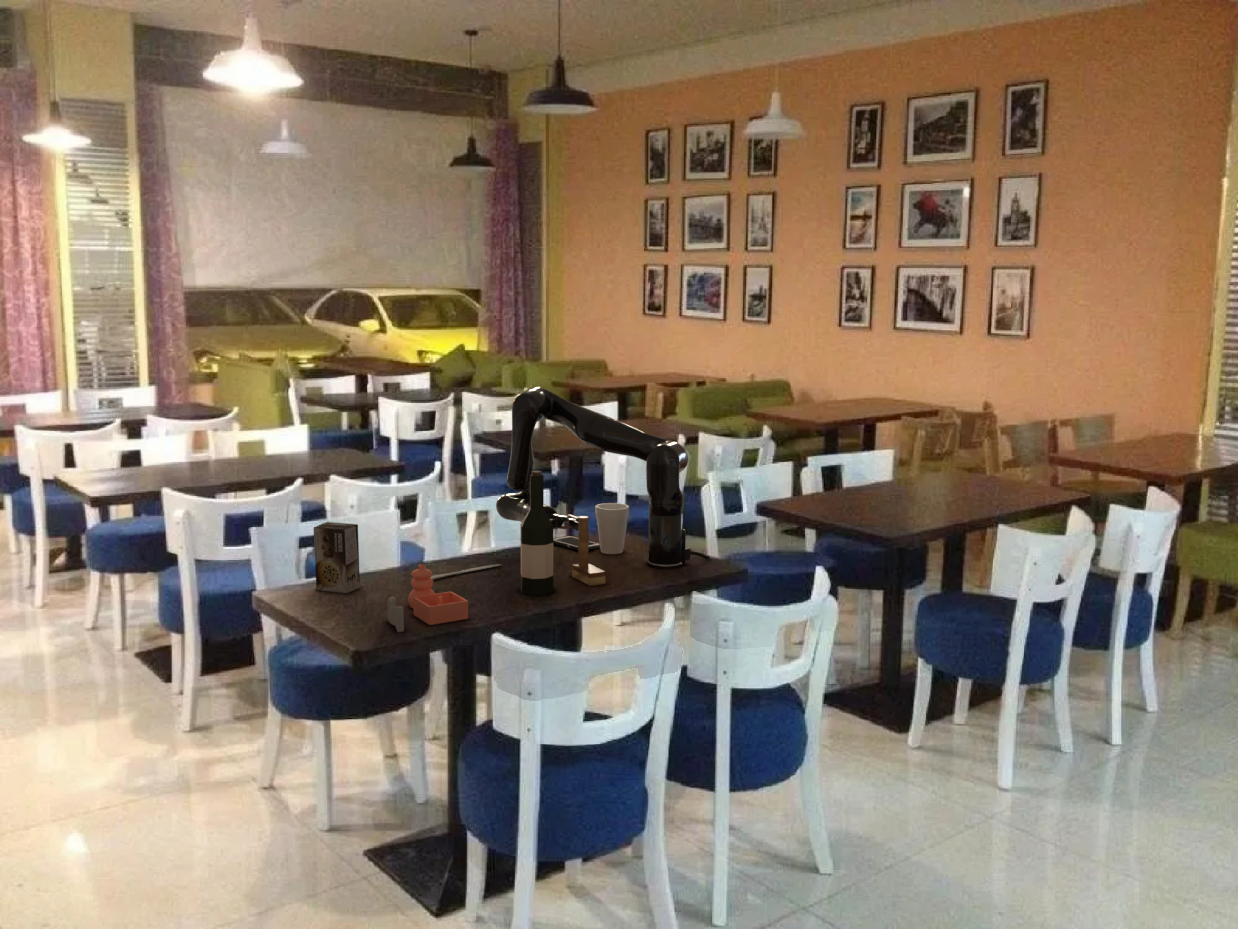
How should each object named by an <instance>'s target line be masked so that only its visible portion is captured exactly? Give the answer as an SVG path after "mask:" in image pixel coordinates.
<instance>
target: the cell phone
mask: <svg viewBox="0 0 1238 929" xmlns="http://www.w3.org/2000/svg"><path fill="white" fill-rule="evenodd" d="M553 544H554V545H559V546H561V547H566V548H569V549H573V550H576V551H578V537H577V536H573V535H563V536H558V537H553ZM594 549H600V542H595V541H591V540H588V551H590V550H594Z"/></svg>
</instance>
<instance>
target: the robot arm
mask: <svg viewBox="0 0 1238 929" xmlns="http://www.w3.org/2000/svg"><path fill="white" fill-rule="evenodd" d="M541 420H547V421H551V422H553V423H556V424H559V425H561V426H563V427H565V428H567V430H568V431H570V433H571V434H573V435H574V436H575V438H577V440H579V441H580V442H582V443H583V444H586V445H588V446H590V447H593V448H595V449H596V450H600V451H602V452H607V453H611V454H616V455H621V456H627V457H633V458H636V459H639V460H642V461H644V462H646V463H645V464H646V465H645V476H646V478H645V479H646V491H647V494H648V540H647V541H648V542H647V544H648V545H647V546H648V547H647V551H646V556H647V565H649V566H651V567H655V568H661V569H671V568H678V567H681V566H683V565H686V561H690V560H691V555H692V556H693V555H694V556H698V557H701V558H703V559H705V560H709V559H710V556H709V555H706V554H704V553H702V552H698V551H691V548H689V547H687V546H686V542H687V541H686V539H687V538H686V536H687V530H686V529H684V492H683V491H682V490H681V487H680V473H682V472H683V471H684V470H685V469H686V468H687V466H688V465H689V454H688V452H687V450H686V448H685V447H684V446H683V445H682V444H680V443H679V442H677V441H674V440H671V439H666V438H662V437H659V436H655V435H653V434H650V433H646V432H644V431H642V430H639V429H638V428H635V427H633V426H631V425H628V424H627V423H624V422H621V421H619V420H617V419H615V418H612V417H610V416H608V415H605V414H603V413H600V412H597V411H594V410H591V409H589V408H587V407H584V406H581V405H580V404H576V403H573V402H571V401H569V400H567V399H565V398H563V397H561V396H559V395H558V394H556V393H554V392H552V391H550V390H548V389H546V388H543V387H541V386H534V387H530V388H528V389H525V390H524V391H522V392H520V393H518V394H517V395H516V396H515V397H514V399H513V401H512V405H511V447H510V448H511V449H510V457H509V463H508V464H509V465H508V471H507V477H506V484H507V487H509V488H510V489H511V490H515V491H518V492H517V493H515V492H514V493H504V494H501V495H500V496H499V497H498V498H497V500H496V502H495V509H496V511H497V514H498V515H499V516H500V517H501V518H503V519H505V520H508V521H513V522H520V523H522V521H523V519H524V518H525V516H526V514H527V513H528V511H529V509H530V475H531V474H532V471H534V469H535V455H534V450H533V434H534V431H535V428H536V426H537V423H538V422H540V421H541ZM544 510H545V512H546V514H547V516H548V518H549V519H550V521H551V523H552V525H553V530H558V529H559V530H567V529H573V530H574V531H577V532H578V518H579V516H577V515H573V514H570V513H568V514H567V515H561V514H559V513H558V512H557V510H556V509H555V508H553V507H552V506H549V505H547V504H545V503H544Z"/></svg>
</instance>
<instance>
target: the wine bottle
mask: <svg viewBox="0 0 1238 929" xmlns="http://www.w3.org/2000/svg"><path fill="white" fill-rule="evenodd" d="M544 476H545V475H544V474H543V473H542V470H533V471H532V474H531V475H530V509H529V511H528V513H527V514H526V516H525V518H524V519H523V521H522V522H520V591H521V594H522V595H523V594H524V595H528V596H546V595H548V594H549V595H550V594H552V593H554V543H553V538H554V529H553V525H552V523H551V521H550V519H549V518H548V516H547V514H546V512H545V510H544V504H545V503H544V502H545V501H544V489H545V488H544V487H545V486H544V485H545V484H544V483H545V482H544Z"/></svg>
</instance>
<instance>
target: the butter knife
mask: <svg viewBox="0 0 1238 929" xmlns="http://www.w3.org/2000/svg"><path fill="white" fill-rule="evenodd" d="M500 566H501V564H490V565H484V566H477V567H472V568H466V569H462V570H458V571H452V572H447V573H442V574H441V573H440V574H435V575H433V574H432V576H431V577H430V578H431V579H432V580H433V581H435V580H438V579H442V578H447V577H451V576H457V575H461V574H464V573H469V572H475V571H479V570H480V571H481V570H486V569H490V568H495V567H500Z"/></svg>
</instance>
